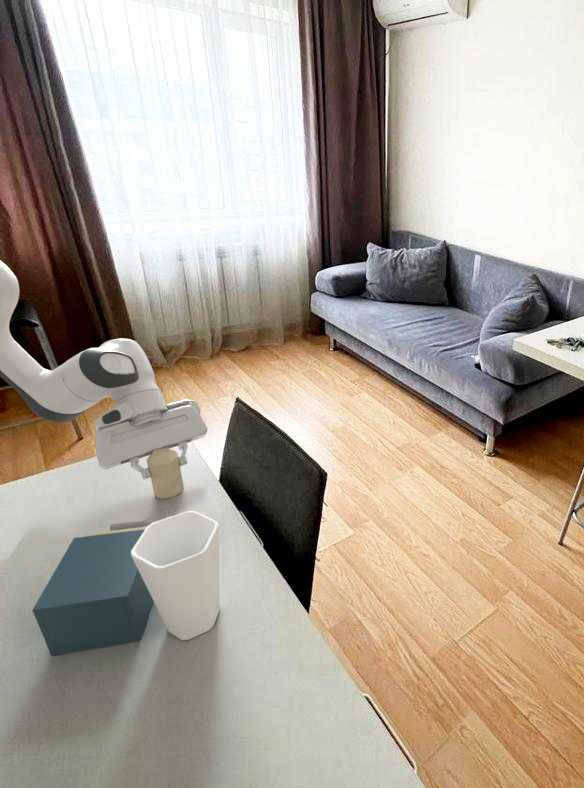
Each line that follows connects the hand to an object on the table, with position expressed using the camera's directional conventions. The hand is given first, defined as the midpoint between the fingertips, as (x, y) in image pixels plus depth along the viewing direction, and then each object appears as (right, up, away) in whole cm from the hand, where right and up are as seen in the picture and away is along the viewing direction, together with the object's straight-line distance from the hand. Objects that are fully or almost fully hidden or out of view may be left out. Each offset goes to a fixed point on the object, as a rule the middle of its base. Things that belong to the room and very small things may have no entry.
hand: (165, 471), depth 102 cm
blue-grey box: (+5, -17, -23) cm, 29 cm away
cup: (+18, -18, -24) cm, 35 cm away
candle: (-1, -5, +3) cm, 6 cm away
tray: (+4, -14, -19) cm, 24 cm away
